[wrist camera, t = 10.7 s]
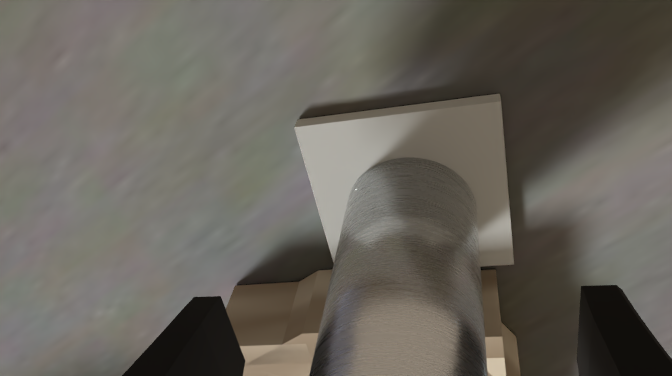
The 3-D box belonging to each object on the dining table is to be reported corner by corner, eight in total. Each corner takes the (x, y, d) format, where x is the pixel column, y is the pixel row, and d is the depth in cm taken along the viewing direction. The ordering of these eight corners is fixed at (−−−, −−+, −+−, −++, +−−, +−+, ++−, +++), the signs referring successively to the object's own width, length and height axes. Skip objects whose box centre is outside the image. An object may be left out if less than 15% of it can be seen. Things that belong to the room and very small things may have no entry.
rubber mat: (297, 119, 16) (293, 127, 15) (499, 93, 15) (501, 101, 14) (339, 266, 18) (337, 275, 18) (512, 254, 17) (514, 264, 17)
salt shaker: (348, 258, 18) (279, 614, 10) (341, 154, 16) (250, 504, 8) (474, 264, 17) (495, 644, 10) (483, 157, 15) (517, 533, 8)
